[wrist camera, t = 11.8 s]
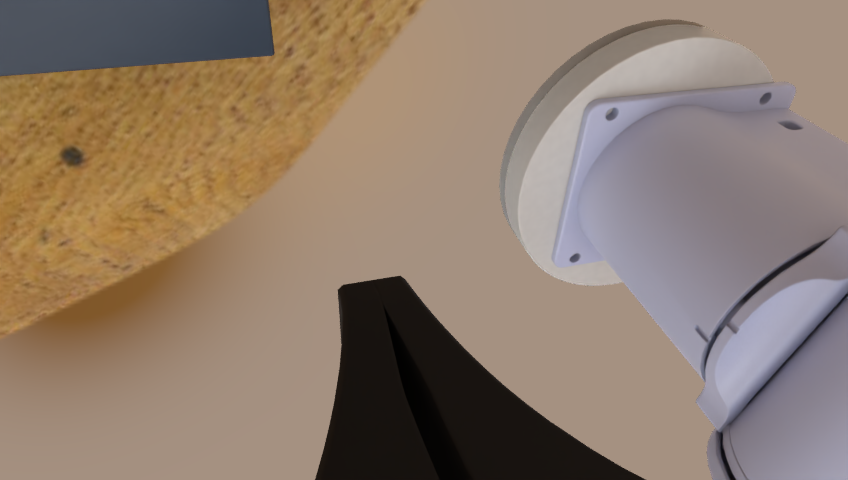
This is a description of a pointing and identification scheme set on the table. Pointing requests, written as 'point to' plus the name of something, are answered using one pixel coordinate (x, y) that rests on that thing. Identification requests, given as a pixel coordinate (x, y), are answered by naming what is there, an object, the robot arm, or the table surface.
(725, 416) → the robot arm
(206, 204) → the table surface
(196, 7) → the lid
